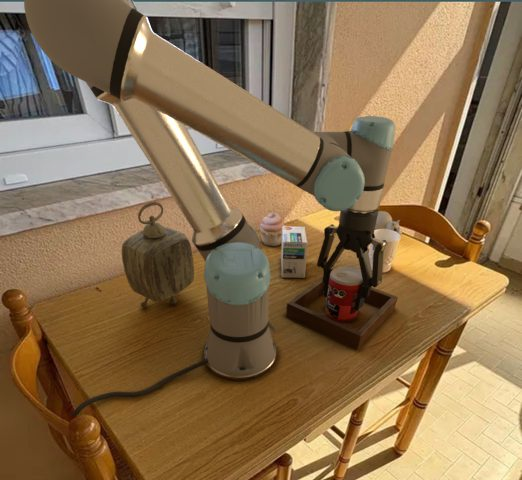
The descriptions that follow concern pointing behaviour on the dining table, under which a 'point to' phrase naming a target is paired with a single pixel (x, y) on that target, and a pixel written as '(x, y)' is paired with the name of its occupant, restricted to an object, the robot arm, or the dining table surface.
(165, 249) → the tabletop clock
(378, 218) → the grey animal figurine
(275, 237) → the cupcake
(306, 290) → the crate
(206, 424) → the dining table surface
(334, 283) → the canned food
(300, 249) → the light bulb box
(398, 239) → the white cup
